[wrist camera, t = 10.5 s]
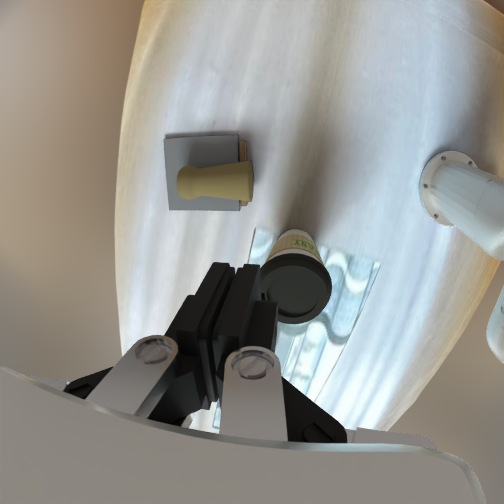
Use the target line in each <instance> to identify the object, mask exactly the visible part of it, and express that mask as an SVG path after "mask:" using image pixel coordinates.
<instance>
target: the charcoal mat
mask: <svg viewBox="0 0 504 504" xmlns="http://www.w3.org/2000/svg"><path fill="white" fill-rule="evenodd" d="M164 154H165V167H166V180H167V191H168V202H169V210H211V211H240V200H234V199H226V198H218V197H209V196H201V195H200V196H199V197H197V198H195V199H184V198H182V197H181V196H180V195H179V193H178V191H177V186H176V179H177V174H178V172H179V170H180V169H181V168H182V167H184V166H188V165H193V166H196V167H198V168H199V169H200V168H206V167H212V166H218V165H224V164H230V163H237V162H239V149H238V135H218V136H197V137H182V138H169V139H164Z"/></svg>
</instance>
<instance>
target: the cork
mask: <svg viewBox="0 0 504 504" xmlns="http://www.w3.org/2000/svg"><path fill="white" fill-rule="evenodd" d="M253 181H254V180H253V166H252V161H243V162H237V163H230V164H224V165H218V166H212V167H206V168H200V169H199V168H198V167H196V166H193V165H188V166H184V167H182V168H181V169H180V170H179V172H178V174H177V179H176V186H177V191H178V193H179V195H180V196H181V197H182V198H184V199H195V198H197V197H199V196H200V195H201V196H209V197H218V198H226V199H234V200H242V201H249V202H251V201H252V197H253Z"/></svg>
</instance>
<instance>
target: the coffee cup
mask: <svg viewBox="0 0 504 504" xmlns="http://www.w3.org/2000/svg"><path fill="white" fill-rule="evenodd" d="M331 292H332V281H331V278H330V275H329V273H328V271H327V269H326V268H325V267H324V264H323V262H322V259H321V257H320V254H319V252H318V250H317V247H316V245H315V244H314V242H313V239H312V238H311V236H310V235H309V234H308V233H306V232H305V231H302V230H299V229H292V230H288V231H286V232H284V233H283V234H282V235H281V236H280V237H279V239H278V241H277V242H276V244H275V245H274V247H273V249H272V251H271V252H270V254H269V256H268V258H267V260H266V262H265V264H264V265H263V266H262V267H261V269H260V300H265V301H278V321H279V322H282V323H286V324H300V323H304V322H308V321H310V320H312V319H314V318H315V317H316V316H318V315H319V314H320V313H321V312H322V310H323V309H324V308H325V306H326V305H327V303H328V302H329V299H330V296H331Z"/></svg>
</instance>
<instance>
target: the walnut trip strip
mask: <svg viewBox="0 0 504 504" xmlns="http://www.w3.org/2000/svg"><path fill="white" fill-rule="evenodd" d="M239 143H240V162H243V161H247V158H246V141H240V142H239ZM241 206H247V201H242V200H241Z"/></svg>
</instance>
